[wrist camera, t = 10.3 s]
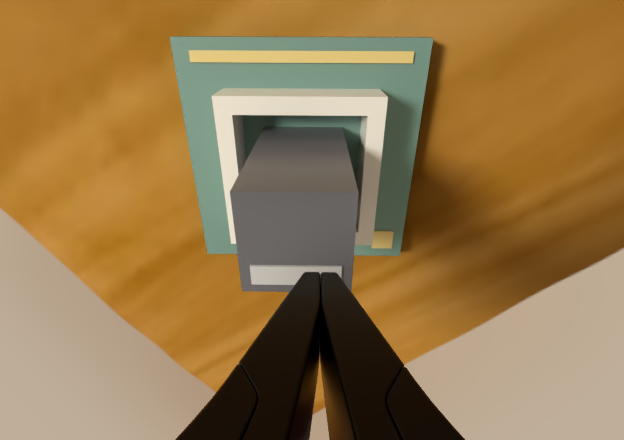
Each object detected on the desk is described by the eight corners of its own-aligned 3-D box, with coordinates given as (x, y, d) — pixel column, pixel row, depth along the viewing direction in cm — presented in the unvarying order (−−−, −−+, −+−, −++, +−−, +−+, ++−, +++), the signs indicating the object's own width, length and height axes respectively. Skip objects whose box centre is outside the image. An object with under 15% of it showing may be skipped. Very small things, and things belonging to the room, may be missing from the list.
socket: (379, 89, 17) (387, 97, 15) (367, 224, 20) (372, 245, 19) (223, 88, 17) (211, 96, 15) (239, 223, 21) (231, 243, 19)
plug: (342, 127, 18) (358, 194, 11) (338, 205, 20) (350, 304, 13) (264, 126, 18) (228, 193, 11) (269, 205, 20) (242, 303, 13)
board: (427, 37, 17) (434, 38, 16) (396, 246, 22) (400, 256, 21) (177, 36, 17) (169, 36, 16) (211, 244, 23) (207, 254, 22)
